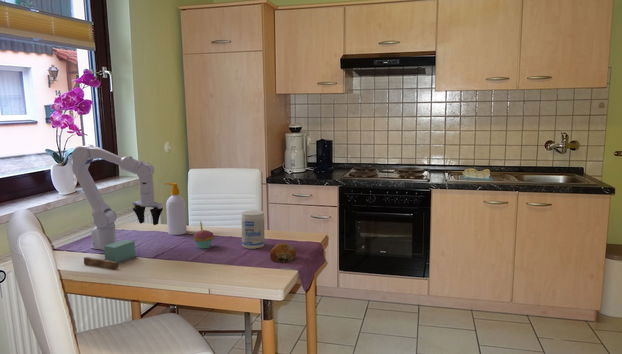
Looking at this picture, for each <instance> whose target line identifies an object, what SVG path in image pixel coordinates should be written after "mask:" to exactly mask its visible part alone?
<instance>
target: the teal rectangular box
mask: <svg viewBox="0 0 622 354" xmlns="http://www.w3.org/2000/svg"><path fill="white" fill-rule="evenodd" d="M135 246H136V244H135V241H134V240H130V239H122V240H118V241H116V242H115V243H112V244H109V245H105V246H104V250H103V251H104V252H103V253H104V259H105V260H109V261H115V262H119V261H122V260H125V259H128V258H130V257H136V247H135Z"/></svg>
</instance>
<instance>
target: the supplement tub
mask: <svg viewBox="0 0 622 354" xmlns="http://www.w3.org/2000/svg"><path fill="white" fill-rule="evenodd" d="M241 246H242V247H243V248H245V249H248V250H249V249H250V250H251V249H252V250H257V249H260V248H263V247H264V246H265V212H264V211H263V210H256V209H255V210H253V209H252V210H245V211H242V212H241ZM256 248H257V249H256Z"/></svg>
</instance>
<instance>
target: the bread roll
mask: <svg viewBox="0 0 622 354" xmlns="http://www.w3.org/2000/svg"><path fill="white" fill-rule="evenodd" d="M269 253H270V254H269V255H270V260H271V262H275V263H289V262H292V261H294V260H295V259H296V250H295V248H294V247H293V246H292V245H291V244H288V243H285V242H282V243H281V242H280V243H277V244H275V245H274V247H273V248H271V250H270V252H269Z"/></svg>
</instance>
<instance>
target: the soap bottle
mask: <svg viewBox="0 0 622 354" xmlns="http://www.w3.org/2000/svg"><path fill="white" fill-rule="evenodd" d="M164 185H165V186H166V185H169V186H172V187H171V190H170V191H171V192H170V193H171V196H170V197H168V199H167V200H166V205H165V207H166V222H167V224H166V225H167V227H166V228H167V233H168V235H170V236H182V235H184V234H187V232H188V231H187V229H188V227H187V210H186V201H185V199H184V198H183V196H182V195H180V189H179V187H178V183H177V182H173V183H172V182H164Z"/></svg>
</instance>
